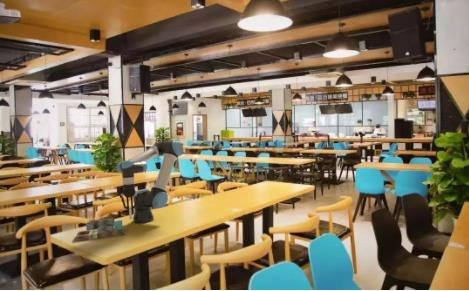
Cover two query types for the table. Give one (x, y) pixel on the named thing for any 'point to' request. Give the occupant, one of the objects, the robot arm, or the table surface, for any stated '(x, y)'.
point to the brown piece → (100, 231)
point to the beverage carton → (96, 223)
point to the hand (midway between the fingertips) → (130, 218)
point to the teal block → (118, 225)
